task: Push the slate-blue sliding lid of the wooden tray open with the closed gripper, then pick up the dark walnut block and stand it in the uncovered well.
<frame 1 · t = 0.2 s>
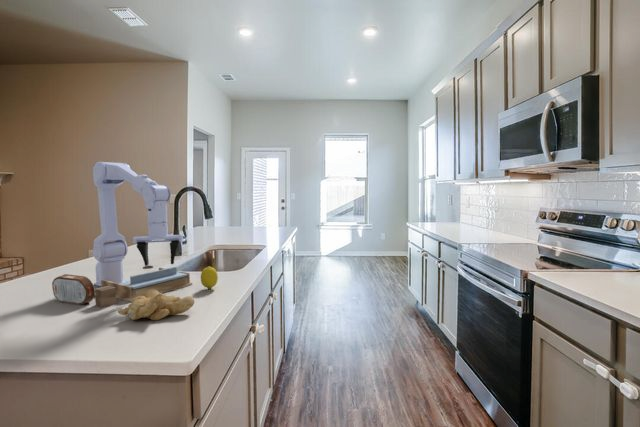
hand: (159, 264, 116), 10 cm above the countertop, tool pointing down, fingers open, 7 cm apart
lemon: (209, 289, 123), on the countertop
block: (106, 304, 108), on the countertop
tin: (73, 303, 110), on the countertop
ginger root: (155, 317, 97), on the countertop
lid: (154, 276, 122), point 5 cm above the countertop, slide at 0.0 cm
wooden tray: (147, 288, 125), on the countertop
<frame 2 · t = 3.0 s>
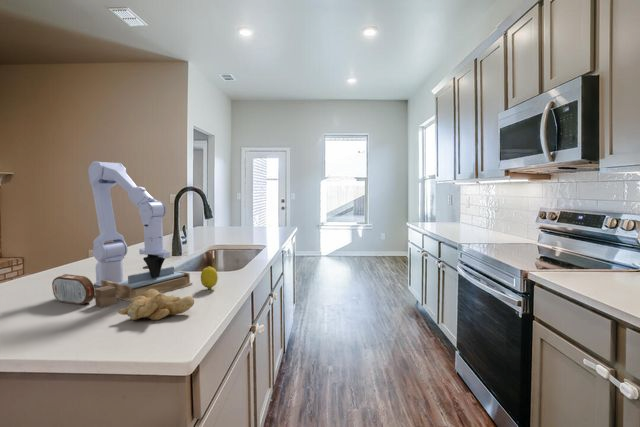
hand: (155, 277, 122), 5 cm above the countertop, tool pointing down, fingers closed
lid: (152, 275, 123), point 5 cm above the countertop, slide at 1.4 cm, touching gripper
everything else where it was.
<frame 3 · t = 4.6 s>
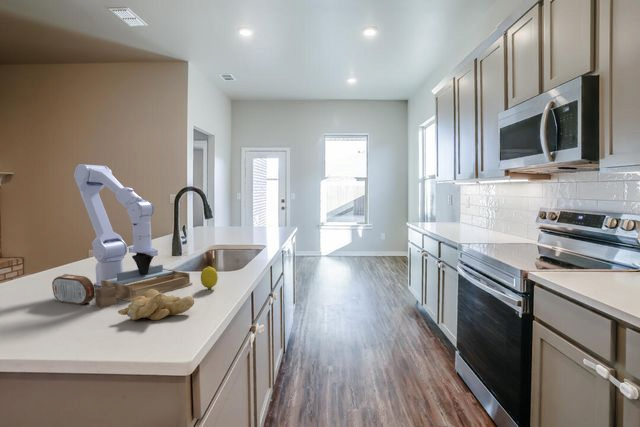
hand: (143, 274, 125), 5 cm above the countertop, tool pointing down, fingers closed
lid: (141, 273, 126), point 5 cm above the countertop, slide at 8.2 cm, touching gripper
everything else where it was.
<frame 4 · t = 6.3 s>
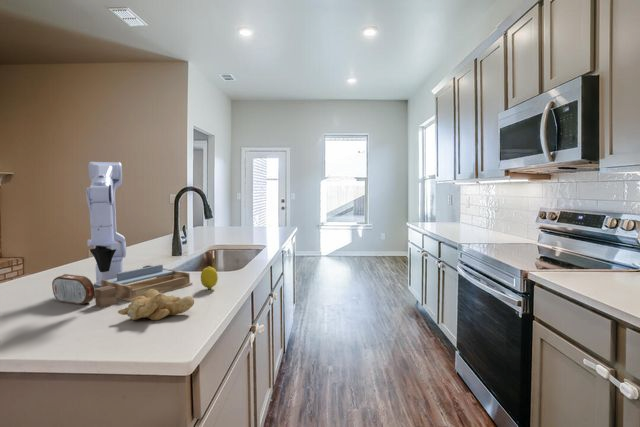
hand: (104, 271, 107), 10 cm above the countertop, tool pointing down, fingers closed
lid: (140, 273, 126), point 5 cm above the countertop, slide at 8.2 cm
everything else where it was.
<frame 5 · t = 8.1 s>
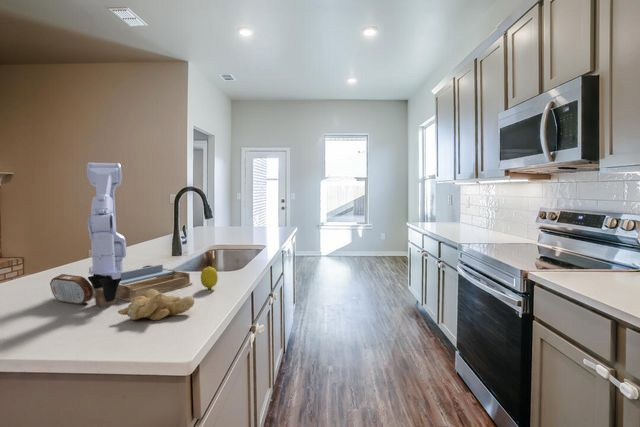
hand: (105, 299, 108), 1 cm above the countertop, tool pointing down, fingers open, 4 cm apart
tin: (73, 302, 110), on the countertop, touching gripper
everything else where it was.
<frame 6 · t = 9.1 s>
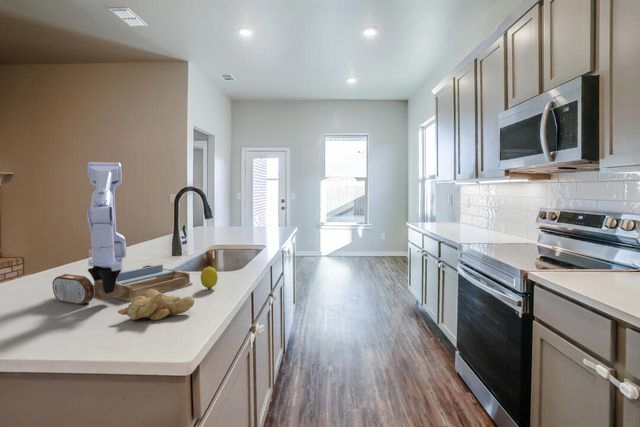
hand: (105, 291, 108), 4 cm above the countertop, tool pointing down, fingers closed on block, 4 cm apart
block: (105, 296, 108), point 2 cm above the countertop, touching gripper
tin: (73, 303, 110), on the countertop
everything else where it was.
when the fingers open (4 cm above the countertop, at t = 11.7 s): block drops 2 cm, resting on wooden tray.
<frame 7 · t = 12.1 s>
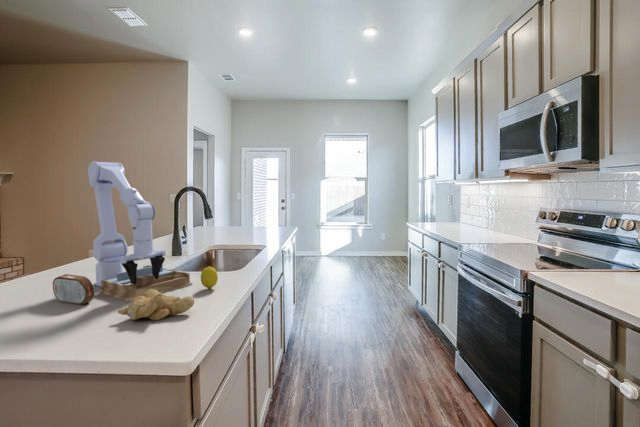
hand: (144, 281, 119), 4 cm above the countertop, tool pointing down, fingers open, 7 cm apart
block: (145, 291, 119), point 1 cm above the countertop, touching wooden tray
everything else where it was.
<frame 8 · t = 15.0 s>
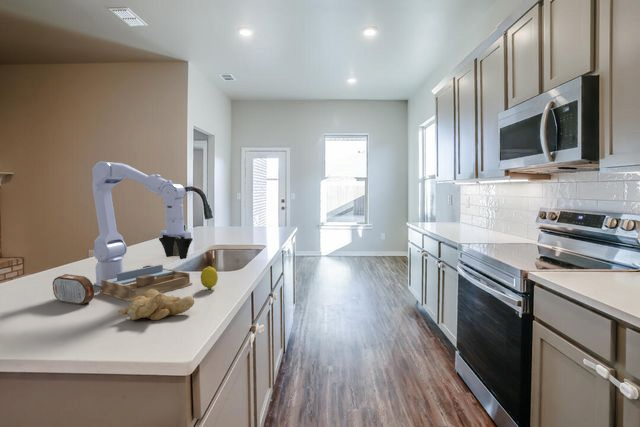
hand: (176, 257, 125), 10 cm above the countertop, tool pointing down, fingers open, 7 cm apart
nothing on the countertop moved.
at the end: lid slide at 8.2 cm; block inside the target area (3.5 cm from its centre), point 0.6 cm above the countertop; block tilted 0° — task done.
